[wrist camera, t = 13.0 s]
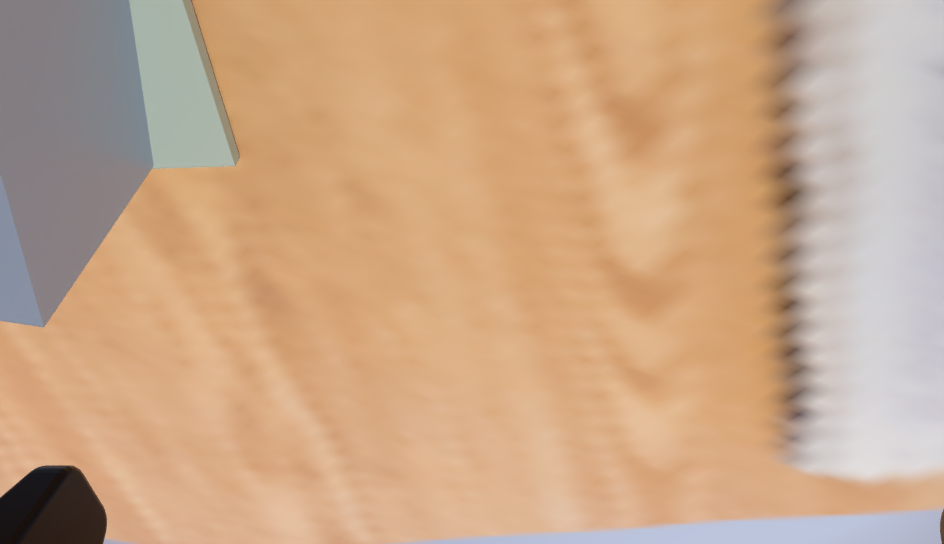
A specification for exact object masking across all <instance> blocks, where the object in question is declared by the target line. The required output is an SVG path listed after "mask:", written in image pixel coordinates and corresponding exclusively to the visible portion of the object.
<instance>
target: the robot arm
mask: <svg viewBox="0 0 944 544" xmlns="http://www.w3.org/2000/svg"><path fill="white" fill-rule="evenodd" d="M106 527H107V518H106V513H105V509H104V507H103V505H102V504H101V502H100V500H99V499H98V497H97V495H96V494H95V492H94V491H93V489H92V487H91V486H90V484H89V482H88V481H87V479H86V478H85V476H84V474H83V473H82V472H81V470H80V469H78V468H76V467H75V466H41V467H38V468H36V469H34V470H33V471H31V472H30V473H29V474H27V475H26V476H25V477H24V478H23V479H22V480H20V481H19V482H18V483H17V484H16V485H14V486H13V487H12V488H11V489H10V490H9V491H7V492H6V493H5V494H4V495H3V496H2V497H0V544H103V542H104V538H105V534H106ZM940 533H941V541H942V544H944V510H943V512H942V516H941V522H940Z"/></svg>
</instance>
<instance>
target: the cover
mask: <svg viewBox="0 0 944 544" xmlns="http://www.w3.org/2000/svg"><path fill="white" fill-rule="evenodd" d="M153 166H154V164H153V158H152V151H151V144H150V137H149V131H148V124H147V117H146V111H145V104H144V97H143V90H142V84H141V77H140V70H139V63H138V57H137V50H136V43H135V36H134V30H133V23H132V16H131V9H130V3H129V0H0V321H5V322H12V323H18V324H25V325H32V326H38V327H44V326H45V325H46V323H47V322H48V321H49V319H50V318H51V316H52V315H53V313H54V312H55V310H56V309H57V307H58V306H59V304H60V303H61V301H62V300H63V298H64V297H65V296H66V294H67V293H68V291H69V290H70V288H71V287H72V285H73V284H74V282H75V281H76V279H77V278H78V276H79V275H80V273H81V272H82V271H83V269H84V268H85V266H86V265H87V263H88V262H89V260H90V259H91V257H92V256H93V254H94V253H95V251H96V250H97V248H98V247H99V246H100V244H101V243H102V241H103V240H104V238H105V237H106V235H107V234H108V232H109V231H110V229H111V228H112V226H113V225H114V223H115V222H116V221H117V219H118V218H119V216H120V215H121V213H122V212H123V210H124V209H125V207H126V206H127V204H128V203H129V201H130V200H131V198H132V197H133V196H134V194H135V193H136V191H137V190H138V188H139V187H140V185H141V184H142V182H143V181H144V179H145V178H146V176H147V175H148V173H149V172H150V171H151V169H152V168H153Z"/></svg>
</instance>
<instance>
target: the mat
mask: <svg viewBox="0 0 944 544" xmlns="http://www.w3.org/2000/svg"><path fill="white" fill-rule="evenodd" d="M129 3H130V9H131V16H132V23H133V30H134V36H135V43H136V50H137V57H138V63H139V70H140V77H141V84H142V90H143V97H144V104H145V111H146V117H147V124H148V131H149V137H150V144H151V151H152V158H153V164H154V166H153V168H152V169H160V168H191V167H223V166H236V164H237V162H238V160H239V158H240V156H239V153H238V150H237V146H236V143H235V140H234V137H233V134H232V130H231V127H230V124H229V121H228V118H227V114H226V111H225V108H224V105H223V101H222V98H221V95H220V92H219V89H218V85H217V82H216V79H215V76H214V73H213V69H212V66H211V63H210V60H209V56H208V53H207V50H206V47H205V44H204V40H203V37H202V34H201V31H200V28H199V24H198V21H197V18H196V15H195V12H194V8H193V5H192V2H191V0H129Z"/></svg>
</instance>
